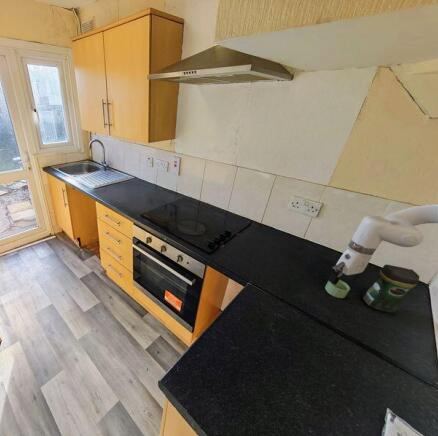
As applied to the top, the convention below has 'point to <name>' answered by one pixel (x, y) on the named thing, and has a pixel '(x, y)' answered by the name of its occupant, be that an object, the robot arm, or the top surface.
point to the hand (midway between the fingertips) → (340, 280)
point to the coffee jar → (390, 288)
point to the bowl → (337, 289)
